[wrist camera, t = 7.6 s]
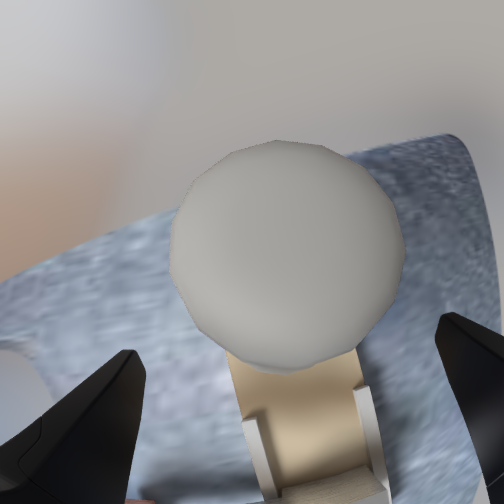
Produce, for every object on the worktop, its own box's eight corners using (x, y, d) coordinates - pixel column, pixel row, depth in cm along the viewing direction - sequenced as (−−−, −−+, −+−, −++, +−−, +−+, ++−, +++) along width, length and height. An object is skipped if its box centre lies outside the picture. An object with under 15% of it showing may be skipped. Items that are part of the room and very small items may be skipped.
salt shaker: (348, 306, 16) (488, 190, 4) (295, 390, 15) (350, 491, 3) (266, 254, 18) (244, 66, 6) (210, 333, 17) (57, 270, 4)
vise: (385, 506, 12) (413, 541, 7) (281, 536, 12) (281, 580, 7) (315, 234, 19) (327, 192, 14) (208, 261, 19) (184, 228, 14)
